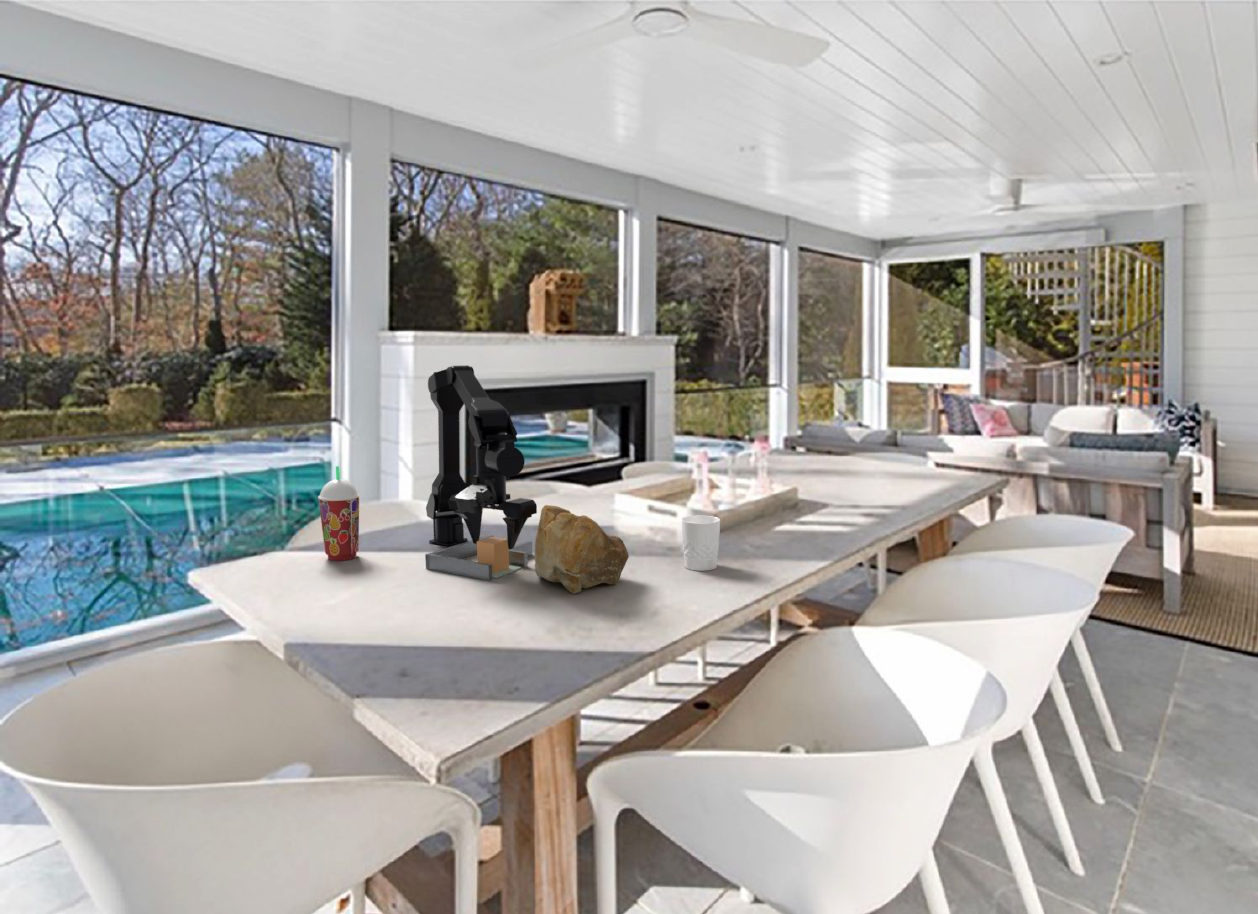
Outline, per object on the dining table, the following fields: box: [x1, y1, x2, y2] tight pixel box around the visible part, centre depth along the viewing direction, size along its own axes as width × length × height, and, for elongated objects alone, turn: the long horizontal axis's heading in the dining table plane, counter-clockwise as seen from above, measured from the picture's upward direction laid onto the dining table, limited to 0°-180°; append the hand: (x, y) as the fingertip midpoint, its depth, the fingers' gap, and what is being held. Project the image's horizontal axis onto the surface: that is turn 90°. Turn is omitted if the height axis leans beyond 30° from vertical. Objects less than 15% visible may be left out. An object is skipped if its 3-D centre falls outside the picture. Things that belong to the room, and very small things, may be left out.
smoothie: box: [317, 465, 361, 562], centre depth 171 cm, size 8×8×20 cm
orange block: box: [476, 536, 509, 573], centre depth 161 cm, size 4×4×6 cm
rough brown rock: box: [534, 504, 630, 595], centre depth 152 cm, size 23×17×15 cm
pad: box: [492, 565, 523, 579], centre depth 162 cm, size 8×8×1 cm
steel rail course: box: [424, 534, 533, 582], centre depth 167 cm, size 17×20×3 cm
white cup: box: [681, 514, 721, 572], centre depth 163 cm, size 8×8×10 cm
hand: (493, 546), depth 161 cm, fingers open, 9 cm apart
